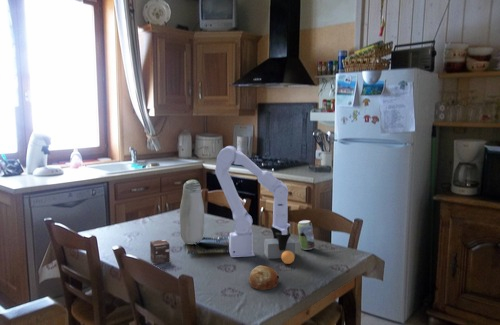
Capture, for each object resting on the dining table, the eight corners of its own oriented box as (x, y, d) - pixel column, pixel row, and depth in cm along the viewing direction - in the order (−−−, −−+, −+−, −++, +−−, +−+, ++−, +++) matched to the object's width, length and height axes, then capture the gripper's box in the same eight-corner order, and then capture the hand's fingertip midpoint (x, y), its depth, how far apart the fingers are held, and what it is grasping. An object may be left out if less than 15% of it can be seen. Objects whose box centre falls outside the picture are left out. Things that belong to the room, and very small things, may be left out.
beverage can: (314, 251, 168) (315, 223, 166) (296, 250, 170) (297, 222, 168) (314, 246, 174) (315, 219, 173) (297, 245, 176) (298, 218, 174)
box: (154, 264, 152) (153, 246, 151) (150, 259, 158) (149, 241, 157) (170, 262, 155) (169, 243, 154) (165, 257, 160) (165, 239, 159)
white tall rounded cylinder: (202, 247, 171) (202, 182, 168) (178, 247, 171) (177, 182, 168) (205, 240, 181) (205, 178, 177) (182, 239, 181) (181, 178, 177)
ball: (283, 266, 152) (283, 253, 152) (279, 261, 157) (280, 248, 156) (296, 265, 153) (296, 252, 152) (292, 260, 158) (292, 248, 157)
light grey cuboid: (267, 258, 160) (268, 244, 159) (264, 253, 166) (264, 239, 165) (294, 257, 162) (295, 242, 161) (290, 251, 168) (290, 237, 167)
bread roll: (252, 287, 142) (243, 268, 141) (279, 275, 143) (269, 255, 141) (255, 301, 133) (245, 280, 131) (283, 287, 133) (273, 266, 132)
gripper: (295, 218, 155) (294, 252, 157) (285, 209, 169) (284, 240, 171) (277, 219, 154) (276, 253, 156) (268, 209, 168) (268, 241, 170)
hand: (279, 246), depth 163 cm, fingers open, 7 cm apart
